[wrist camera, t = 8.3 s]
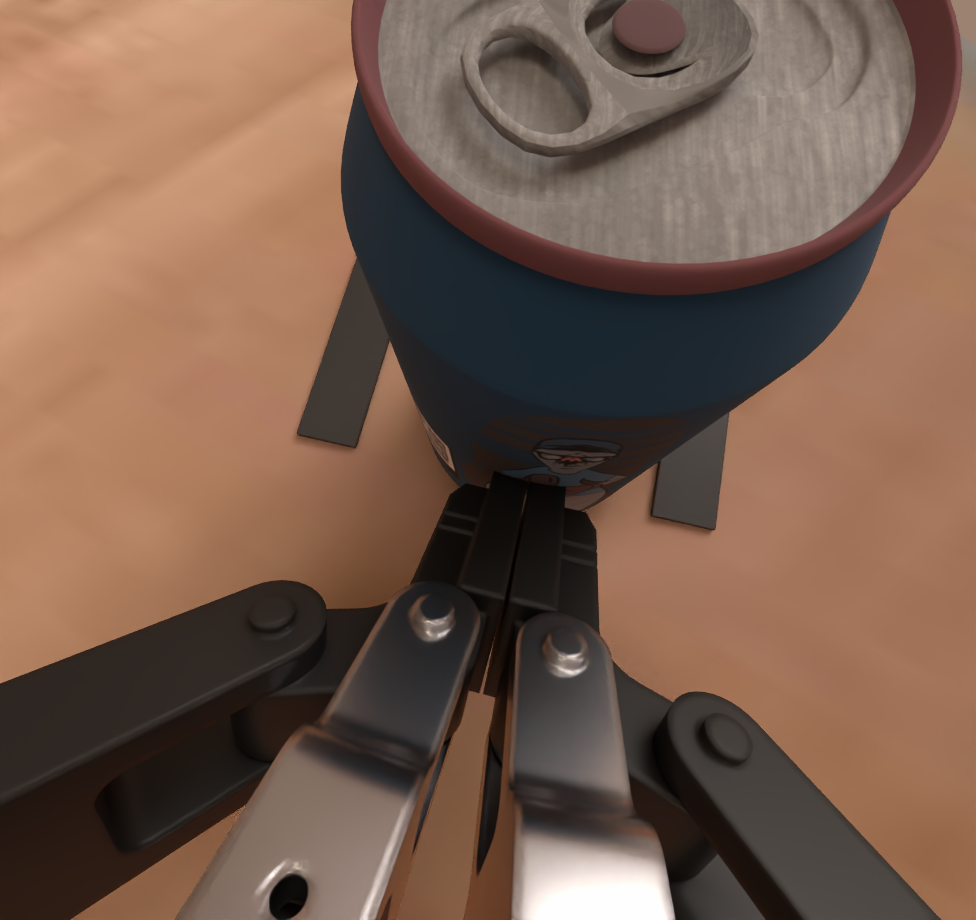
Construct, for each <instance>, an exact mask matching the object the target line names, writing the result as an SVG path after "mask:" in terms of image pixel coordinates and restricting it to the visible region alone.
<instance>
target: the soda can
mask: <svg viewBox="0 0 976 920" xmlns="http://www.w3.org/2000/svg"><path fill="white" fill-rule="evenodd" d="M351 37H352V50H353V58H354V65H355V70H356V75H357V79H358V83H357V87H356V91H355V95H354V99H353V103H352V108H351V112H350V116H349V121H348V125H347V130H346V135H345V141H344V147H343V154H342V166H341V194H342V203H343V211H344V216H345V220H346V225H347V229H348V233H349V236H350V239H351V242H352V246H353V248H354V251H355V253H356V256H357V258H358V261H359V263H360V266H361V268H362V271H363V273H364V276H365V278H366V281H367V284H368V286H369V289H370V291H371V294H372V296H373V299H374V301H375V304H376V306H377V309H378V311H379V314H380V316H381V319H382V321H383V324H384V326H385V329H386V331H387V334H388V336H389V339H390V342H391V344H392V347H393V349H394V352H395V354H396V357H397V359H398V362H399V364H400V367H401V369H402V372H403V374H404V377H405V379H406V382H407V384H408V387H409V389H410V392H411V394H412V397H413V400H414V402H415V405H416V407H417V410H418V412H419V415H420V417H421V420H422V422H423V425H424V427H425V430H426V432H427V435H428V437H429V440H430V442H431V445H432V447H433V450H434V452H435V454H436V456H437V458H438V460H439V461H440V463H441V465H442V466H443V468H444V469H445V471H446V472H447V473H448V475H449V476H450V477H451V478H452V479H453V480H454V481H455V482H456V483H457V484H458V485H459V486H460V487H461V486H463V485H464V484H465V483H467V484H471V485H475V486H479V487H483V488H488V489H489V486H490V483H491V480H492V476H493V473H494V471H496V472H499V473H501V474H504V475H507V476H510V477H514V478H517V479H521V480H525V481H528V484H527V489H526V494H525V499H526V495H527V491H528V489H529V486H530V484H531V482H534V483H539V484H545V485H553V486H562V487H566V495H565V507H566V508H570V509H574V510H578V511H583V510H585V509H588V508H590V507H592V506H594V505H596V504H598V503H600V502H601V501H603V500H604V499H606V498H607V497H609V496H610V495H612V494H613V493H614V492H616V491H617V490H619V489H620V488H622V487H623V486H624V485H626V484H627V483H629V482H630V481H632V480H633V479H634V478H636V477H637V476H639V475H640V474H642V473H643V472H644V471H646V470H647V469H649V468H650V467H652V466H653V465H654V464H656V463H657V462H659V461H660V460H662V459H663V458H664V457H666V456H667V455H669V454H670V453H671V452H673V451H674V450H676V449H677V448H679V447H680V446H681V445H683V444H684V443H686V442H687V441H689V440H690V439H691V438H693V437H694V436H696V435H697V434H699V433H700V432H701V431H703V430H704V429H706V428H707V427H709V426H710V425H711V424H713V423H714V422H716V421H717V420H719V419H720V418H721V417H723V416H724V415H726V414H727V413H729V412H730V411H731V410H733V409H734V408H736V407H737V406H739V405H740V404H741V403H743V402H744V401H746V400H747V399H749V398H750V397H751V396H753V395H754V394H756V393H757V392H759V391H760V390H761V389H763V388H764V387H766V386H767V385H768V384H770V383H771V382H773V381H774V380H776V379H777V378H778V377H780V376H781V375H783V374H784V373H786V372H787V371H788V370H790V369H791V368H793V367H794V366H795V365H796V364H798V363H799V362H800V361H802V360H803V359H804V358H806V357H807V356H808V355H809V354H810V353H811V352H812V351H813V350H815V349H816V348H817V347H818V346H819V345H820V344H821V343H822V342H823V341H824V340H825V339H826V338H827V337H828V335H829V334H830V333H831V332H832V331H833V330H834V329H835V328H836V326H837V325H838V324H839V322H840V321H841V320H842V318H843V317H844V316H845V314H846V313H847V311H848V310H849V309H850V307H851V305H852V304H853V302H854V300H855V299H856V297H857V295H858V293H859V292H860V290H861V288H862V286H863V283H864V281H865V279H866V277H867V275H868V273H869V270H870V268H871V266H872V263H873V260H874V258H875V255H876V252H877V249H878V247H879V244H880V241H881V238H882V235H883V232H884V230H885V227H886V224H887V221H888V218H889V215H890V212H891V210H892V209H893V208H894V207H895V206H896V205H897V204H898V203H899V202H900V201H901V200H902V199H903V198H904V197H905V196H906V195H907V194H908V193H909V192H910V190H911V189H912V188H913V187H914V186H915V185H916V183H917V182H918V181H919V180H920V178H921V177H922V176H923V174H924V173H925V172H926V170H927V169H928V168H929V166H930V165H931V163H932V161H933V160H934V158H935V156H936V155H937V153H938V151H939V150H940V148H941V146H942V144H943V142H944V139H945V137H946V135H947V133H948V131H949V128H950V126H951V123H952V120H953V117H954V114H955V111H956V108H957V103H958V98H959V93H960V87H961V77H962V50H961V41H960V34H959V29H958V25H957V20H956V16H955V12H954V9H953V6H952V3H951V0H353V6H352V19H351ZM525 499H524V503H525ZM523 507H524V504H523ZM522 511H523V509H522Z"/></svg>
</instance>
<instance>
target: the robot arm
mask: <svg viewBox="0 0 976 920" xmlns="http://www.w3.org/2000/svg"><path fill="white" fill-rule="evenodd" d="M527 484H528V481H525V480H521V479H517V478H514V477H510V476H507V475H504V474H501V473H499V472H496V471H494V473H493V476H492V480H491V483H490V486H489V489H488V488H483V487H479V486H475V485H471V484H467V483H465V484H464V485H463V486H461V487H460V488H458V489H457V490H456V491H454V492H453V493H451V494H450V496H449V498H448V500H447V503H446V505H445V507H444V509H443V512H442V514H441V516H440V518H439V521H438V523H437V526H436V528H435V530H434V532H433V534H432V536H431V539H430V541H429V543H428V545H427V548H426V550H425V552H424V554H423V557H422V559H421V561H420V563H419V566H418V568H417V570H416V573H415V575H414V577H413V579H412V581H411V583H410V585H408V586H405V587H403V588H402V589H400V590H399V591H398V592H397V593H395V594H394V595H393V596H392V598H391V599H390V601H389V602H387V603H385V604H381V605H378V606H374V607H369V608H359V609H327V608H326V605H325V602H324V600H323V598H322V597H321V595H320V594H319V593H318V592H317V591H316V590H314V589H313V588H311V587H309V586H307V585H305V584H303V583H299V582H295V581H287V580H278V581H269V582H264V583H261V584H258V585H254V586H252V587H249V588H247V589H244V590H241V591H239V592H236V593H234V594H231V595H228V596H226V597H223V598H221V599H218V600H215V601H213V602H210V603H208V604H205V605H203V606H200V607H197V608H195V609H192V610H190V611H187V612H184V613H182V614H179V615H177V616H174V617H171V618H169V619H166V620H164V621H161V622H159V623H156V624H153V625H151V626H148V627H146V628H143V629H140V630H138V631H135V632H133V633H130V634H127V635H125V636H122V637H120V638H117V639H115V640H112V641H109V642H107V643H104V644H102V645H99V646H96V647H94V648H91V649H89V650H86V651H83V652H81V653H78V654H76V655H73V656H71V657H68V658H65V659H63V660H60V661H58V662H55V663H52V664H50V665H47V666H45V667H42V668H39V669H37V670H34V671H32V672H29V673H27V674H24V675H21V676H19V677H16V678H14V679H11V680H8V681H6V682H3V683H1V684H0V920H70V919H71V918H73V917H75V916H76V915H78V914H79V913H81V912H82V911H84V910H85V909H87V908H88V907H90V906H91V905H93V904H94V903H96V902H97V901H99V900H100V899H102V898H104V897H105V896H107V895H108V894H110V893H111V892H113V891H114V890H116V889H117V888H119V887H120V886H122V885H123V884H125V883H126V882H128V881H129V880H131V879H133V878H134V877H136V876H137V875H139V874H140V873H142V872H143V871H145V870H146V869H148V868H149V867H151V866H152V865H154V864H155V863H157V862H158V861H160V860H162V859H163V858H165V857H166V856H168V855H169V854H171V853H172V852H174V851H175V850H177V849H178V848H180V847H181V846H183V845H184V844H186V843H187V842H189V841H191V840H192V839H194V838H195V837H197V836H198V835H200V834H201V833H203V832H204V831H206V830H207V829H209V828H210V827H212V826H213V825H215V824H216V823H218V822H220V821H221V820H223V819H224V818H226V817H227V816H229V815H230V814H232V813H233V812H235V811H236V810H238V809H239V808H241V807H242V806H244V805H245V804H247V805H246V806H245V808H244V809H243V811H242V813H241V814H240V816H239V817H238V819H237V821H236V822H235V824H234V825H233V827H232V829H231V830H230V832H229V833H228V835H227V837H226V838H225V840H224V841H223V843H222V845H221V846H220V848H219V849H218V851H217V853H216V854H215V856H214V857H213V859H212V861H211V862H210V864H209V865H208V867H207V868H206V870H205V872H204V873H203V875H202V876H201V878H200V880H199V881H198V883H197V884H196V886H195V888H194V889H193V891H192V892H191V894H190V896H189V897H188V899H187V900H186V902H185V904H184V905H183V907H182V908H181V910H180V912H179V913H178V915H177V916H176V918H175V920H396V918H397V914H398V911H399V908H400V904H401V901H402V898H403V894H404V891H405V887H406V883H407V880H408V877H409V873H410V870H411V867H412V863H413V860H414V857H415V854H416V851H417V848H418V844H419V841H420V838H421V835H422V832H423V829H424V826H425V823H426V820H427V817H428V814H429V810H430V807H431V804H432V801H433V798H434V795H435V792H436V789H437V786H438V783H439V779H440V776H441V773H442V770H443V767H444V764H445V761H446V758H447V755H448V752H449V749H450V745H451V742H452V739H453V736H454V733H455V731H456V730H457V729H458V727H459V725H460V723H461V720H462V717H463V713H464V708H465V704H466V700H467V696H468V692H469V691H473V692H477V693H479V692H480V688H481V685H482V681H483V677H484V674H485V670H486V666H487V662H488V659H489V655H490V651H491V648H492V644H493V648H492V653H491V657H490V662H489V667H488V672H487V677H486V682H485V687H484V692H483V694H485V695H488V696H492V697H496V698H495V704H494V709H493V715H492V721H491V725H490V728H489V731H488V734H487V738H486V742H485V747H484V757H483V766H482V776H481V785H480V795H479V804H478V813H477V823H476V832H475V842H474V851H473V861H472V870H471V878H470V885H469V892H468V898H467V903H466V908H465V913H464V918H463V920H941V919H940V918H939V917H938V916H937V915H936V914H935V913H934V912H933V911H932V909H931V908H930V907H929V906H928V905H927V904H926V903H925V902H924V901H923V900H922V899H921V898H920V897H919V896H918V895H917V893H916V892H915V891H914V890H913V889H912V888H911V887H910V886H909V885H908V884H907V883H906V882H905V881H904V880H903V879H902V877H901V876H900V875H899V874H898V873H897V872H896V871H895V870H894V869H893V868H892V867H891V866H890V865H889V864H888V862H887V861H886V860H885V859H884V858H883V857H882V856H881V855H880V854H879V853H878V852H877V851H876V850H875V849H874V848H873V846H872V845H871V844H870V843H869V842H868V841H867V840H866V839H865V838H864V837H863V836H862V835H861V834H860V833H859V832H858V830H857V829H856V828H855V827H854V826H853V825H852V824H851V823H850V822H849V821H848V820H847V819H846V818H845V817H844V816H843V814H842V813H841V812H840V811H839V810H838V809H837V808H836V807H835V806H834V805H833V804H832V803H831V802H830V801H829V800H828V798H827V797H826V796H825V795H824V794H823V793H822V792H821V791H820V790H819V789H818V788H817V787H816V786H815V785H814V784H813V782H812V781H811V780H810V779H809V778H808V777H807V776H806V775H805V774H804V773H803V772H802V771H801V770H800V769H799V768H798V766H797V765H796V764H795V763H794V762H793V761H792V760H791V759H790V758H789V757H788V756H787V755H786V754H785V753H784V751H783V750H782V749H781V748H780V747H779V746H778V745H777V744H776V743H775V742H774V741H773V740H772V739H771V738H770V737H769V735H768V734H767V733H766V732H765V731H764V730H763V729H762V728H761V727H760V726H759V725H758V724H757V723H756V722H755V721H754V720H753V719H752V718H751V717H750V716H749V715H748V714H747V713H746V712H744V711H743V710H742V709H741V708H739V707H738V706H736V705H735V704H733V703H732V702H730V701H728V700H726V699H724V698H722V697H720V696H717V695H714V694H711V693H706V692H688V693H686V694H683V695H681V696H679V697H678V698H677V699H676V700H675V701H674V702H672V701H670V700H668V699H666V698H665V697H663V696H661V695H659V694H658V693H656V692H654V691H652V690H651V689H649V688H647V687H645V686H644V685H642V684H640V683H638V682H637V681H635V680H634V679H632V678H631V677H630V676H628V675H627V674H626V673H625V672H623V671H622V670H621V669H620V668H619V667H618V666H617V665H616V664H615V662H614V661H613V660H612V657H611V653H610V651H609V648H608V646H607V644H606V643H605V641H604V640H603V638H602V637H601V636H600V631H599V607H598V573H597V553H596V550H597V538H596V529H595V528H594V526H593V524H592V522H591V521H590V519H589V517H588V515H587V514H586V512H582V511H578V510H574V509H570V508H566V507H565V495H566V487H562V486H553V485H545V484H539V483H534V482H531V484H530V486H529V489H528V491H527V495H526V499H525V494H526V489H527ZM524 499H525V503H524ZM523 504H524V507H523ZM522 509H523V511H522ZM494 636H495V638H494ZM493 640H494V643H493Z"/></svg>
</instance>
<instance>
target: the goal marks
mask: <svg viewBox="0 0 976 920" xmlns="http://www.w3.org/2000/svg"><path fill="white" fill-rule="evenodd" d="M389 340H390V339H389V336H388V334H387V331H386V329H385V326H384V324H383V321H382V319H381V316H380V314H379V311H378V309H377V306H376V304H375V301H374V299H373V296H372V294H371V291H370V289H369V286H368V284H367V281H366V278H365V276H364V273H363V271H362V268H361V266H360V263H359V261H358V258H357V260H356V263H355V265H354V268H353V271H352V274H351V277H350V280H349V283H348V286H347V289H346V292H345V294H344V297H343V300H342V303H341V306H340V309H339V312H338V315H337V318H336V321H335V323H334V326H333V329H332V332H331V335H330V338H329V341H328V344H327V347H326V350H325V352H324V355H323V358H322V361H321V364H320V367H319V370H318V373H317V376H316V379H315V381H314V384H313V387H312V390H311V393H310V396H309V399H308V402H307V405H306V408H305V410H304V413H303V416H302V419H301V422H300V425H299V428H298V431H297V434H298V435H300V436H305V437H309V438H313V439H318V440H322V441H326V442H331V443H335V444H340V445H344V446H348V447H353V448H356V446H357V443H358V439H359V436H360V433H361V430H362V427H363V423H364V420H365V417H366V414H367V411H368V407H369V404H370V401H371V398H372V394H373V391H374V388H375V385H376V382H377V378H378V375H379V372H380V369H381V366H382V362H383V359H384V356H385V353H386V349H387V346H388V343H389ZM728 418H729V413H727V414H726V415H724V416H723V417H721V418H720V419H719V420H717V421H716V422H714V423H713V424H711V425H710V426H709V427H707V428H706V429H704V430H703V431H701V432H700V433H699V434H697V435H696V436H694V437H693V438H691V439H690V440H689V441H687V442H686V443H684V444H683V445H681V446H680V447H679V448H677V449H676V450H674V451H673V452H671V453H670V454H669V455H667V456H666V457H664V458H663V459H662V460H660V461H659V466H658V472H657V479H656V486H655V492H654V499H653V505H652V512H651V516H653V517H658V518H662V519H666V520H671V521H675V522H679V523H684V524H688V525H692V526H697V527H701V528H706V529H710V530H715V528H716V520H717V511H718V503H719V494H720V486H721V478H722V469H723V461H724V452H725V444H726V435H727V427H728Z"/></svg>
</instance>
